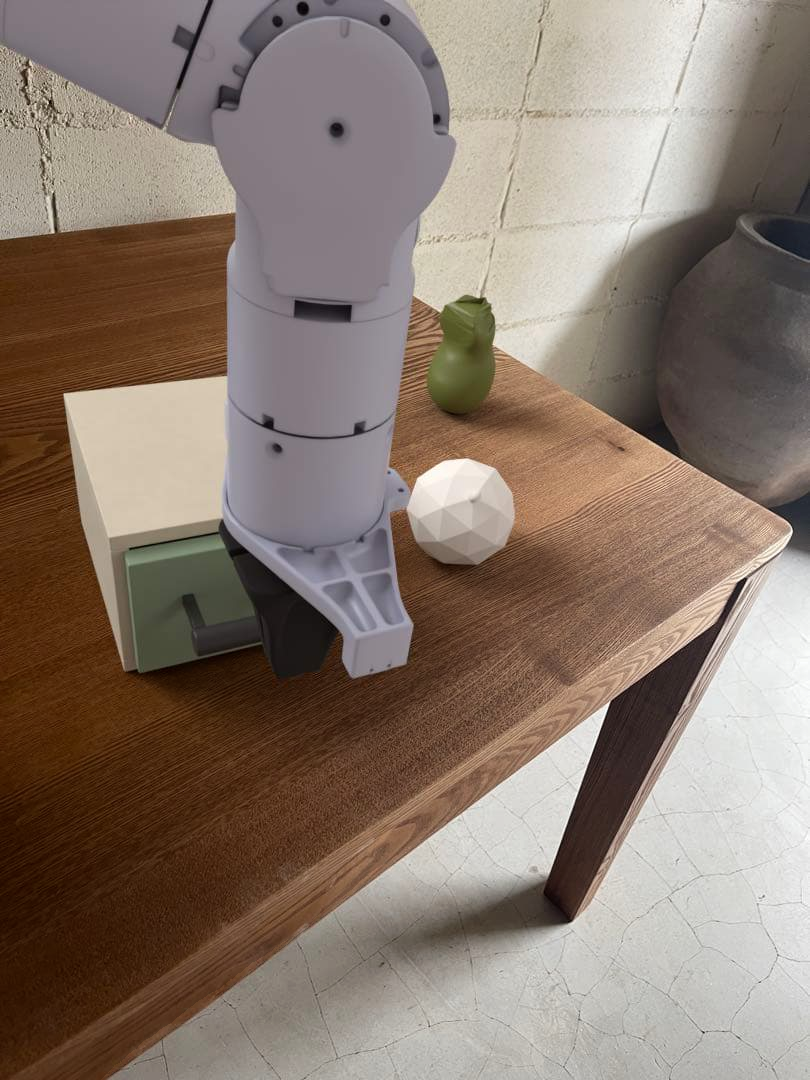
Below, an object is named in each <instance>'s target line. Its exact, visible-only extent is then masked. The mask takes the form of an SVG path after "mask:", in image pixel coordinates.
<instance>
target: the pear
mask: <svg viewBox="0 0 810 1080" xmlns="http://www.w3.org/2000/svg"><path fill="white" fill-rule="evenodd" d="M492 309H493V307H492V303H490V302H488V300H487V296H482V297H477V296H474V295H470V294H463V295H462V296H460V297H459V298H457V299H456V300H454V301H451V302H449V303H446V304H444V306H443V309H442V310H441V312H440V313H439V317H438V321H439V325H440V328H441V331H442V333H443V336H442V341H441V342H440V343H439V345H438V347H437V348H436V350H435V352H434V354H433V356H432V359H431V361H430V364H429V367H428V370H427V375H426V389H427V392H428V395H429V397H430V399H431V400H432V401H433V403H434V404H435V405H436V406H437V407H439V408H440V409H441V410H444V411H445V412H448V413H452V414H466V413H469V412H472V411H474V410H476V409H477V408H478V407H480V406H481V405H482V404H483V403H484V401H485V400H486V399H487V398H488V395H489V393H490V392H491V389H492V386H493V384H494V381H495V376H496V368H497V367H496V355H495V351H494V345H493V344H494V340H495V336H496V330H497V329H496V318H495V317H496V316H495V315H494V313H493V312H492Z"/></svg>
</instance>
